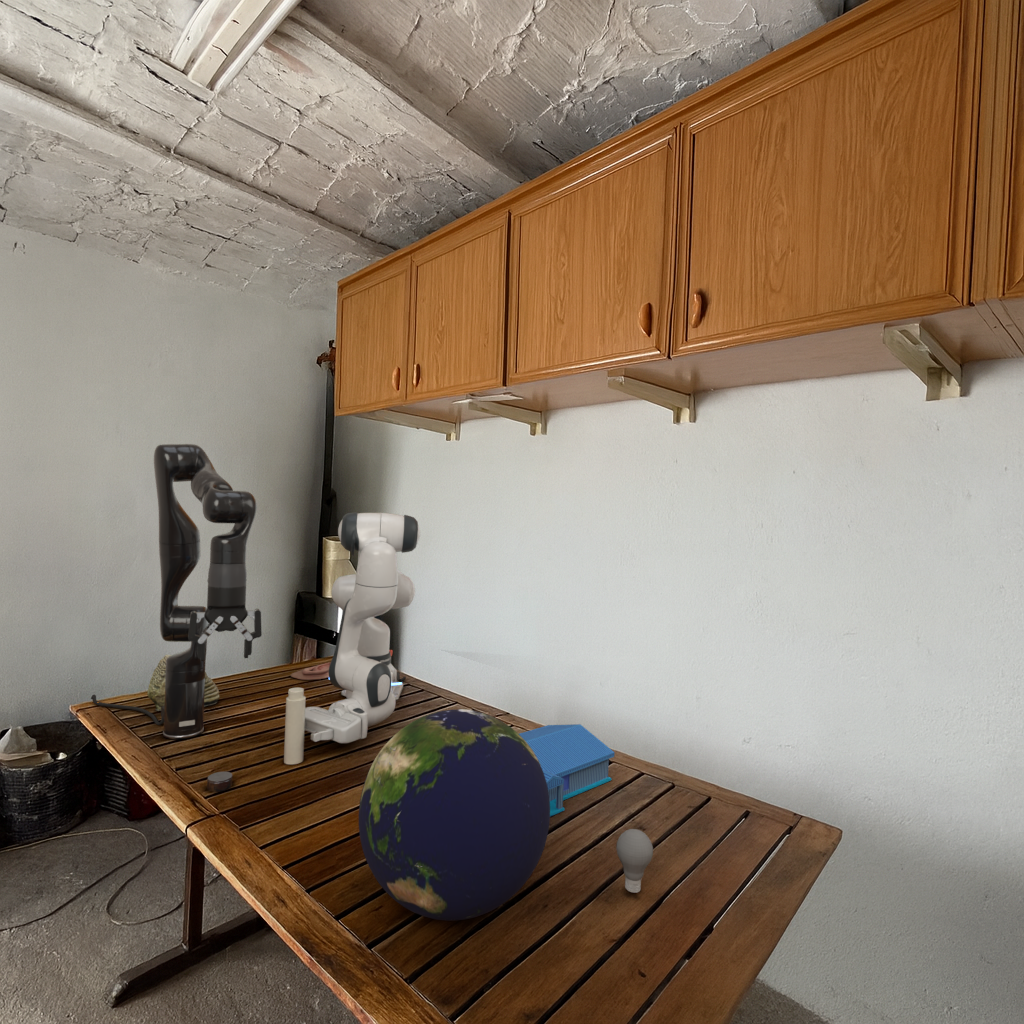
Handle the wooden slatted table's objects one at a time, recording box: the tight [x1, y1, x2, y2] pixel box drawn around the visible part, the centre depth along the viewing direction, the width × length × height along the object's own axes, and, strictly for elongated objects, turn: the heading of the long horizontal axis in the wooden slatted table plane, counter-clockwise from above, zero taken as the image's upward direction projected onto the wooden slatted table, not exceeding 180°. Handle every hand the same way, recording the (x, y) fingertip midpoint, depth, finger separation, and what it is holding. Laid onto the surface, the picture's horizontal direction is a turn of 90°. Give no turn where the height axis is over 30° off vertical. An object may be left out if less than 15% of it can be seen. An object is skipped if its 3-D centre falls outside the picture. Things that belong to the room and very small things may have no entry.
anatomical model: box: [290, 661, 331, 681], centre depth 221 cm, size 13×4×12 cm
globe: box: [358, 708, 551, 922], centre depth 100 cm, size 30×30×30 cm
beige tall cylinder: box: [283, 687, 307, 765], centre depth 151 cm, size 4×4×17 cm
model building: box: [518, 723, 615, 817], centre depth 141 cm, size 39×24×10 cm, turn 132°
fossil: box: [147, 654, 221, 712], centre depth 185 cm, size 9×18×15 cm, turn 132°
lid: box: [206, 771, 233, 793], centre depth 136 cm, size 5×5×2 cm
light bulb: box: [615, 828, 654, 894], centre depth 106 cm, size 6×6×10 cm
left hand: (224, 658), depth 136 cm, fingers open, 8 cm apart
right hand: (299, 733), depth 152 cm, fingers open, 8 cm apart
